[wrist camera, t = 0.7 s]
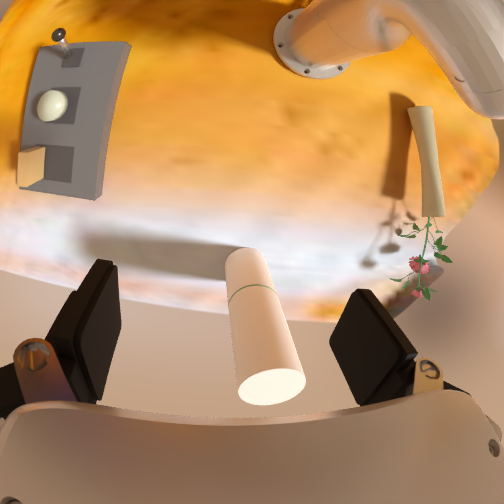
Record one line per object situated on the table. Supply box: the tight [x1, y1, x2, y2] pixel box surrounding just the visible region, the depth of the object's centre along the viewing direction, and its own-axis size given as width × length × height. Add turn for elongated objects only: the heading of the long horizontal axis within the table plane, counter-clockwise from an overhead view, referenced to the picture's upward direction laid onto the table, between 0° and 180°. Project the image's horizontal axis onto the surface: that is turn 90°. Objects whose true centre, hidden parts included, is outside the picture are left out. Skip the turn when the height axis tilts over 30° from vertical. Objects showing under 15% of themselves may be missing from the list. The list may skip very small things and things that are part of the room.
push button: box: [37, 90, 68, 121], centre depth 25 cm, size 4×4×2 cm
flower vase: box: [391, 106, 452, 300], centre depth 42 cm, size 12×12×35 cm
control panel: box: [19, 42, 132, 201], centre depth 30 cm, size 24×16×4 cm, turn 164°
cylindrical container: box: [225, 248, 306, 405], centre depth 37 cm, size 7×7×25 cm
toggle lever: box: [52, 28, 73, 58], centre depth 20 cm, size 2×2×6 cm
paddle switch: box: [17, 146, 45, 187], centre depth 28 cm, size 5×2×5 cm, turn 164°
